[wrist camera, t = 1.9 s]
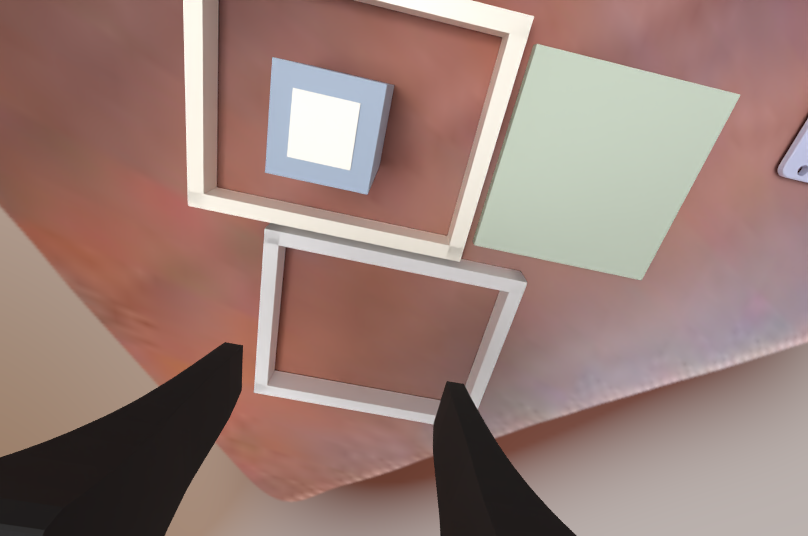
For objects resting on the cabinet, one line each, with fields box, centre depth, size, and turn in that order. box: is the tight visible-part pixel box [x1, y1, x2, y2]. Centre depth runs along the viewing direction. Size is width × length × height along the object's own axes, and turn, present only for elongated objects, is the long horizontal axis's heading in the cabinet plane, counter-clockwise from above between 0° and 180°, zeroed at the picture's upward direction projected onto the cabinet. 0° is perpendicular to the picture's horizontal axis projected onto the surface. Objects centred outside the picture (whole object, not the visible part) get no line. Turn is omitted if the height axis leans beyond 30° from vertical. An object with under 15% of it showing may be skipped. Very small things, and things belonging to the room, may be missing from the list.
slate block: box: [265, 57, 394, 195], centre depth 17 cm, size 4×4×6 cm
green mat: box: [473, 44, 740, 280], centre depth 20 cm, size 10×10×1 cm
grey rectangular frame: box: [254, 223, 527, 424], centre depth 24 cm, size 15×12×2 cm
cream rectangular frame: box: [183, 0, 534, 262], centre depth 19 cm, size 15×12×2 cm
